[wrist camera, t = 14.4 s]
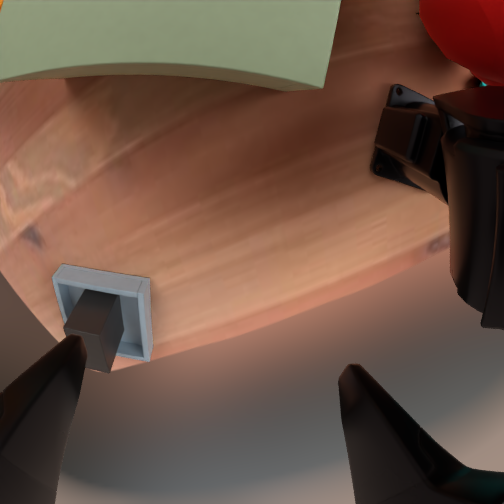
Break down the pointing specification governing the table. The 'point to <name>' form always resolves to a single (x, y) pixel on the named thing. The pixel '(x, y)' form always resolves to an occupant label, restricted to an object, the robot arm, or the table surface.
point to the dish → (131, 298)
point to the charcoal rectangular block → (97, 327)
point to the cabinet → (170, 40)
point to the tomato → (469, 34)
